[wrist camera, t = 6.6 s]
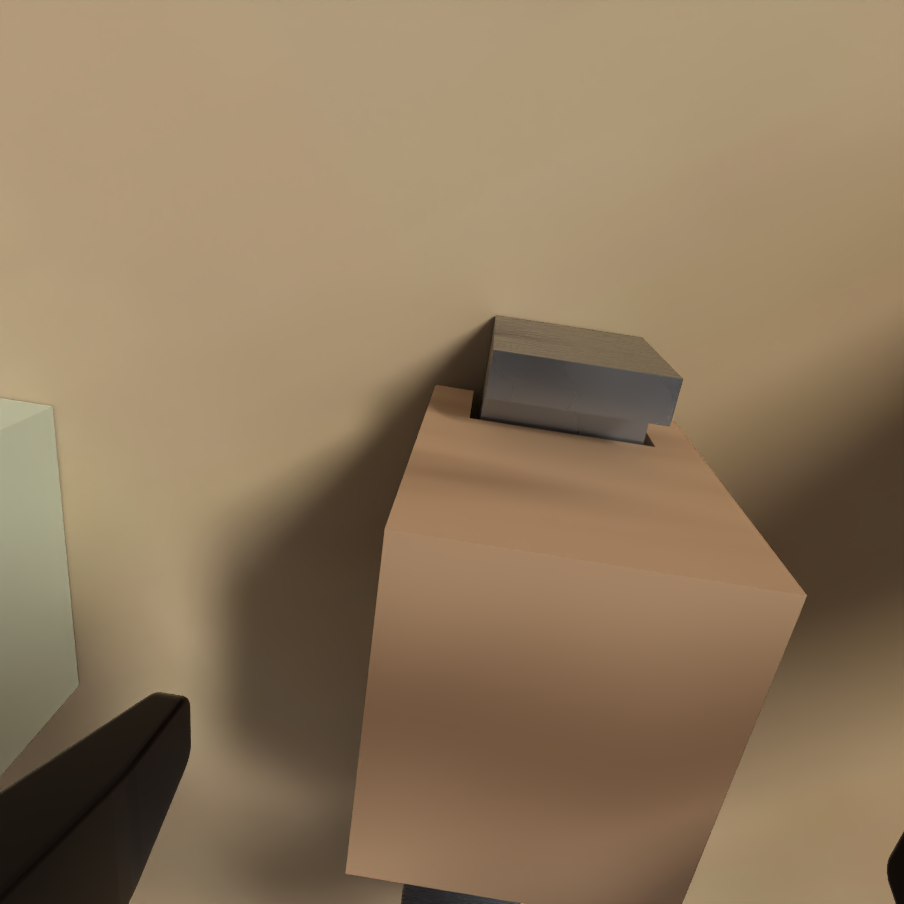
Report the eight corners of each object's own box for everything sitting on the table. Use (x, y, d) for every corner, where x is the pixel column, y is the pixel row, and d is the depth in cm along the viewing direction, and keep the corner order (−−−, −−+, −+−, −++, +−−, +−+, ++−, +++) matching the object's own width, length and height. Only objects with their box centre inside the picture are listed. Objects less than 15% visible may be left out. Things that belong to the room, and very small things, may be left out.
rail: (513, 851, 19) (515, 974, 16) (411, 834, 19) (393, 953, 16) (642, 337, 13) (683, 379, 10) (495, 315, 13) (493, 350, 10)
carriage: (608, 655, 16) (671, 927, 10) (403, 622, 16) (345, 873, 10) (675, 421, 13) (806, 596, 8) (435, 384, 14) (384, 528, 8)
